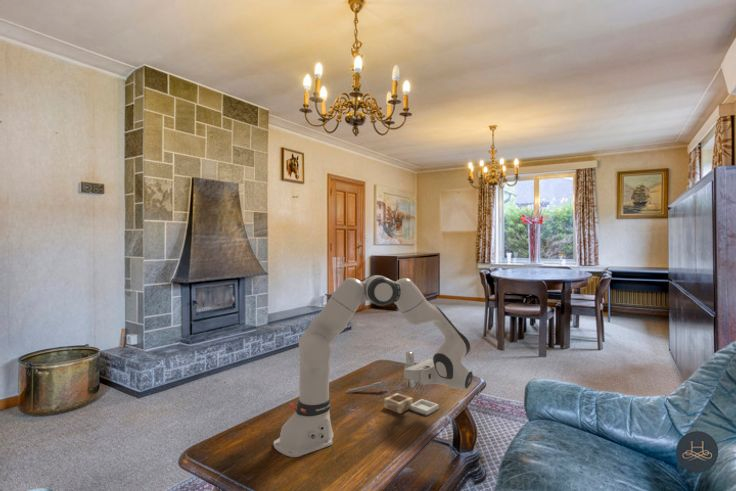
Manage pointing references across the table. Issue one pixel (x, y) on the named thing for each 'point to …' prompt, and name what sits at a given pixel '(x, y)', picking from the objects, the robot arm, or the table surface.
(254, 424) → the table surface
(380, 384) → the caliper
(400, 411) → the bore block
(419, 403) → the tray
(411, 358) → the grey rounded cylinder
